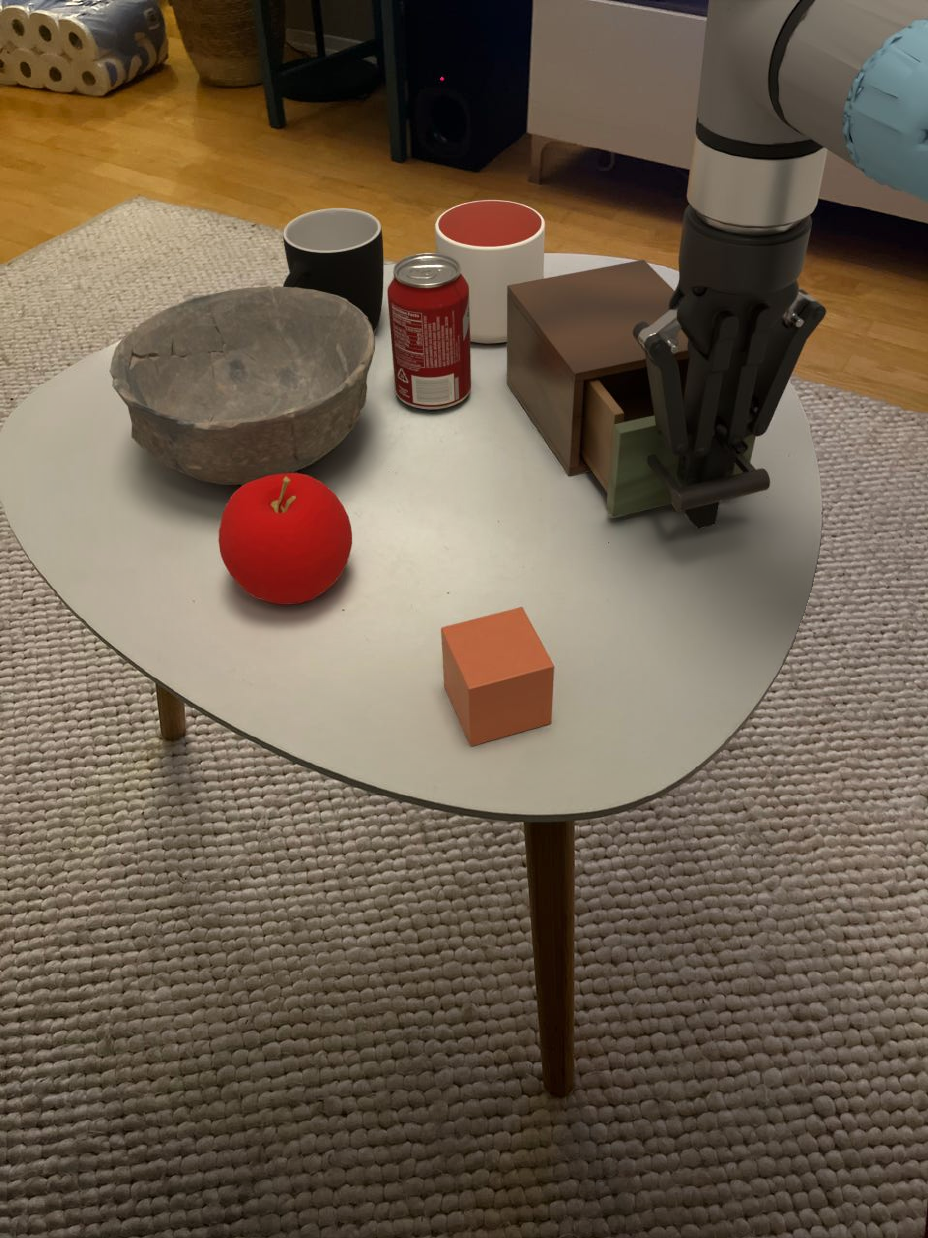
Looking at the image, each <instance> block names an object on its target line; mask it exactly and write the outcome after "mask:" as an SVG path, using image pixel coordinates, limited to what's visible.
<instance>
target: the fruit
mask: <svg viewBox="0 0 928 1238" xmlns="http://www.w3.org/2000/svg"><path fill="white" fill-rule="evenodd" d="M218 546H219V547H218V548H219V553H220V557H221V559H222V562H223V565H224V566H225V568H226V569H227V572H228V573H229V576H231V578H232V579H233V580H234V581H235V582H236V583H237V584H238V585H239V586H240V587H241V588H242V589H243V590H244V591H245V592H246V593H247V594H249V595H251V596H252V597H254V598H256V599H259V600H262V601H265V602H268V603H272V604H277V605H293V604H294V605H295V604H297V605H298V604H302V603H306V602H309V601H312V600H314V599H315V598H316V597H318V596H320V595H321V594H323V593H324V592H326V591H327V590H328V589H330V588H331V587H332V586H333V585H334V584H335V583H336V581H338V580H339V578H340V577H341V575H342V574H343V572H344V570H345V567H346V565H347V564H348V561H349V558H350V555H351V551H352V546H353V531H352V524H351V521H350V517H349V515H348V513H347V510H346V508H345V506H344V505H343V503H342V502H341V501H340V499H339V498H338V496H337V495H336V493H335V492H333V491H332V490H331V489H330V487H328V486H327V485H326V484H324V483H323V482H322V481H320V480H319V479H317V478H314V477H313V476H311V475H308V474H306V473H305V474H303V473H298V472H292V473H283V474H276V475H270V476H266V477H263V478H260V479H257V480H254V481H251V482H248V483H246V484H244V485H240V487H239V488H238V489H236V490H235V491H234V492H233V493H232V495H231V496H230V498H229V499H228V501H227V503H226V506H225V507H224V510H223V512H222V516H221V521H220V525H219V528H218Z"/></svg>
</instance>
